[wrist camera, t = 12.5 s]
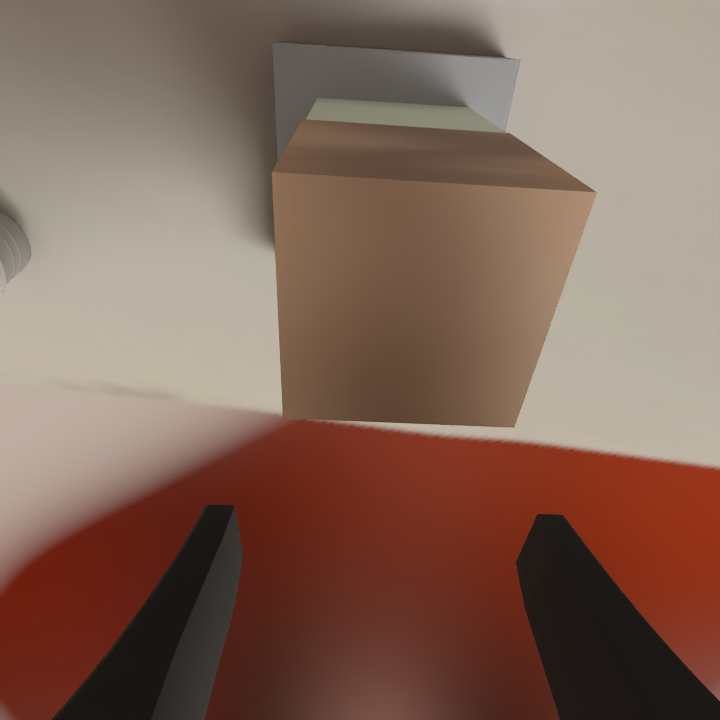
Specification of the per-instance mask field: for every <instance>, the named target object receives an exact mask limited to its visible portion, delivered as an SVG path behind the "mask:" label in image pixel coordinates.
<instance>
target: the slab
mask: <svg viewBox="0 0 720 720" xmlns="http://www.w3.org/2000/svg"><path fill="white" fill-rule="evenodd" d="M272 55H273V77H274V98H275V120H276V142H277V162H278V160H279V159H280V157H281V155H282V153H283V152H284V150H285V148H286V147H287V145H288V143H289V142H290V140H291V138H292V136H293V135H294V133H295V131H296V130H297V128H298V126H299V125H300V123H301V121H302V120H303V119H306V118H307V116H308V114H309V112H310V111H311V109H312V107H313V105H314V103H315V102H316V100H317V98H329V99H345V100H361V101H377V102H393V103H409V104H425V105H441V106H457V107H469V108H471V109H472V110H474V111H475V112H476V113H478V114H479V115H481V116H482V117H484V118H485V119H487V120H488V121H489V122H491V123H492V124H494V125H495V126H497V127H498V128H499V129H501V130H502V131H504V132H505V130H506V125H507V120H508V116H509V111H510V106H511V102H512V97H513V92H514V88H515V83H516V79H517V74H518V69H519V65H520V60H517V59H512V58H507V57H492V56H477V55H462V54H447V53H432V52H417V51H402V50H387V49H372V48H357V47H342V46H327V45H312V44H297V43H282V42H278V43H273V44H272Z"/></svg>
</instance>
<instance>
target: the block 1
mask: <svg viewBox="0 0 720 720" xmlns="http://www.w3.org/2000/svg"><path fill="white" fill-rule="evenodd" d="M306 119H308V120H322V121H337V122H352V123H367V124H381V125H396V126H411V127H426V128H440V129H455V130H470V131H485V132H499V133H505V132H504V131H502V130H501V129H499V128H498V127H497V126H495V125H494V124H492V123H491V122H489V121H488V120H487V119H485V118H484V117H482V116H481V115H479V114H478V113H476V112H475V111H474V110H472V109H471V108H469V107H457V106H441V105H425V104H409V103H393V102H377V101H361V100H345V99H329V98H317V100H316V102H315V103H314V105H313V107H312V109H311V111H310V112H309V114H308V116H307V118H306Z"/></svg>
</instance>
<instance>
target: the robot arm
mask: <svg viewBox="0 0 720 720" xmlns="http://www.w3.org/2000/svg"><path fill="white" fill-rule="evenodd" d="M242 557H243V554H242V548H241V541H240V535H239V528H238V522H237V516H236V510H235V506H234V505H208V506H206V507H205V508H204V509H203V511H202V513H201V515H200V517H199V519H198V520H197V522H196V524H195V526H194V527H193V529H192V531H191V532H190V534H189V536H188V538H187V539H186V541H185V542H184V544H183V546H182V547H181V549H180V550H179V552H178V554H177V555H176V557H175V559H174V560H173V561H172V563H171V565H170V566H169V568H168V569H167V571H166V572H165V574H164V575H163V577H162V578H161V580H160V581H159V583H158V584H157V585H156V587H155V589H154V590H153V591H152V593H151V595H150V596H149V597H148V599H147V600H146V602H145V603H144V605H143V606H142V607H141V609H140V610H139V611H138V613H137V614H136V615H135V617H134V618H133V619H132V621H131V622H130V623H129V625H128V626H127V628H126V629H125V630H124V632H123V633H122V634H121V636H120V637H119V638H118V640H117V641H116V642H115V644H114V645H113V646H112V648H111V649H110V650H109V651H108V653H107V654H106V655H105V657H104V658H103V659H102V660H101V662H100V663H99V664H98V665H97V667H96V668H95V669H94V670H93V671H92V673H91V674H90V675H89V676H88V678H87V679H86V680H85V681H84V682H83V684H82V685H81V686H80V687H79V688H78V690H77V691H76V692H75V693H74V694H73V696H72V697H71V698H70V699H69V700H68V702H67V703H66V704H65V705H64V706H63V707H62V708H61V710H60V711H59V712H58V713H57V714H56V715H55V716H54V717H53V719H52V720H204V719H205V716H206V711H207V707H208V703H209V699H210V696H211V692H212V688H213V684H214V681H215V677H216V673H217V669H218V666H219V662H220V658H221V654H222V650H223V647H224V643H225V639H226V636H227V631H228V628H229V624H230V620H231V616H232V613H233V609H234V605H235V601H236V594H237V589H238V583H239V577H240V571H241V564H242ZM516 564H517V570H518V576H519V581H520V586H521V591H522V595H523V601H524V606H525V609H526V612H527V616H528V619H529V622H530V626H531V629H532V632H533V635H534V638H535V642H536V645H537V648H538V651H539V654H540V657H541V660H542V664H543V667H544V670H545V673H546V676H547V679H548V683H549V685H550V689H551V692H552V695H553V698H554V701H555V705H556V708H557V711H558V714H559V718H560V720H720V701H719V700H718V699H717V698H716V697H715V696H714V695H713V694H712V693H711V692H710V691H709V690H708V689H707V688H706V687H705V686H704V685H703V684H702V683H701V682H700V680H699V679H698V678H697V677H696V676H695V675H694V674H693V673H692V672H691V671H690V670H689V669H688V667H687V666H686V665H685V664H684V663H683V662H682V661H681V660H680V659H679V658H678V656H677V655H676V654H675V653H674V652H673V651H672V650H671V649H670V647H669V646H668V645H667V644H666V643H665V642H664V641H663V640H662V638H661V637H660V636H659V635H658V634H657V633H656V631H655V630H654V629H653V628H652V627H651V626H650V624H649V623H648V622H647V621H646V620H645V619H644V617H643V616H642V615H641V614H640V613H639V611H638V610H637V609H636V608H635V606H634V605H633V604H632V603H631V602H630V600H629V599H628V598H627V597H626V595H625V594H624V593H623V592H622V591H621V589H620V588H619V587H618V586H617V584H616V583H615V582H614V581H613V579H612V578H611V577H610V576H609V574H608V573H607V572H606V570H605V569H604V568H603V567H602V565H601V564H600V563H599V561H598V560H597V559H596V558H595V556H594V555H593V554H592V552H591V551H590V550H589V548H588V547H587V546H586V545H585V543H584V542H583V541H582V539H581V538H580V537H579V535H578V534H577V533H576V531H575V530H574V529H573V528H572V527H571V525H570V523H569V522H568V521H567V520H566V518H565V517H564V516H563V515H548V514H546V515H545V514H538V515H537V516H536V519H535V521H534V523H533V525H532V528H531V530H530V532H529V534H528V537H527V539H526V541H525V543H524V545H523V548H522V550H521V552H520V554H519V557H518V559H517V561H516Z"/></svg>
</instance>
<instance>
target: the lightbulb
mask: <svg viewBox="0 0 720 720" xmlns="http://www.w3.org/2000/svg"><path fill="white" fill-rule="evenodd" d="M30 258H31V247H30V244H29V241H28V238H27V236H26V234H25V233H24V231H23V230H22V229H21V227H20V226H19V225H18V224H17V223H16V222H15V221H14V220H12V219H11V218H10V217H8V216H7V215H5V214H3V213H1V212H0V296H1V295H2V293H3V291H4V288H5V286H6V284H7V283H8V282H9V281H10V280H11V279H12V278H14V277H15V276H16V275H17V274H18V273H19V272H21V271H22V270H23V268H24V267H25V266H26V265H27V264H28V263H29V260H30Z"/></svg>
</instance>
